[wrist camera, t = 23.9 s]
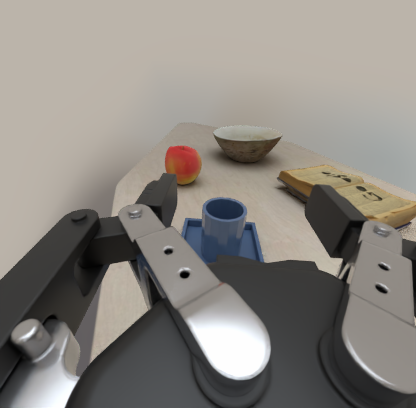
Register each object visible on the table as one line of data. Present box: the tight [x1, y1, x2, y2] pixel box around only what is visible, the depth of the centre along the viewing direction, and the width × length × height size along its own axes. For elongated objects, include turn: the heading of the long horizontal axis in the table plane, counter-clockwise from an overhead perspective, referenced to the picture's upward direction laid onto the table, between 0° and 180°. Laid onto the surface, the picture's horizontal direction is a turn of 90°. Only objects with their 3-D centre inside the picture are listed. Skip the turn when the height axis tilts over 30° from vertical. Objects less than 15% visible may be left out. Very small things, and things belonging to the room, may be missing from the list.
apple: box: [165, 146, 202, 185], centre depth 54 cm, size 10×10×10 cm
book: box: [277, 165, 416, 231], centre depth 49 cm, size 25×17×6 cm
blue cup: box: [201, 197, 247, 263], centre depth 32 cm, size 6×6×8 cm
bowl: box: [213, 126, 282, 162], centre depth 74 cm, size 24×24×10 cm
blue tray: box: [181, 218, 264, 264], centre depth 34 cm, size 13×13×2 cm
